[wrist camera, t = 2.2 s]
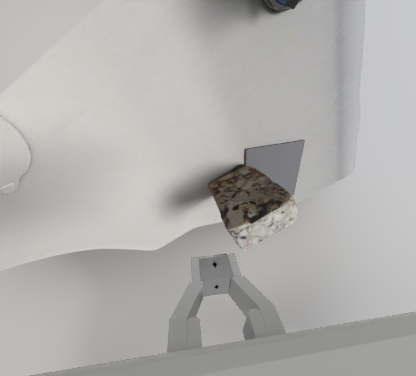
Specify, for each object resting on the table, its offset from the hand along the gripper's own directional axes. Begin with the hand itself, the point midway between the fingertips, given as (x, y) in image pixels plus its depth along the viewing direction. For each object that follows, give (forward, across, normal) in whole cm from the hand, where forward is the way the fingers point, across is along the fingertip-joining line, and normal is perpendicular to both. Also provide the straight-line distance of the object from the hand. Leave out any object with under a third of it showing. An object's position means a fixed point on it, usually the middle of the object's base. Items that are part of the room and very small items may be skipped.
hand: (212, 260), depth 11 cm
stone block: (+32, -10, +11) cm, 36 cm away
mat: (+34, -24, +11) cm, 43 cm away
